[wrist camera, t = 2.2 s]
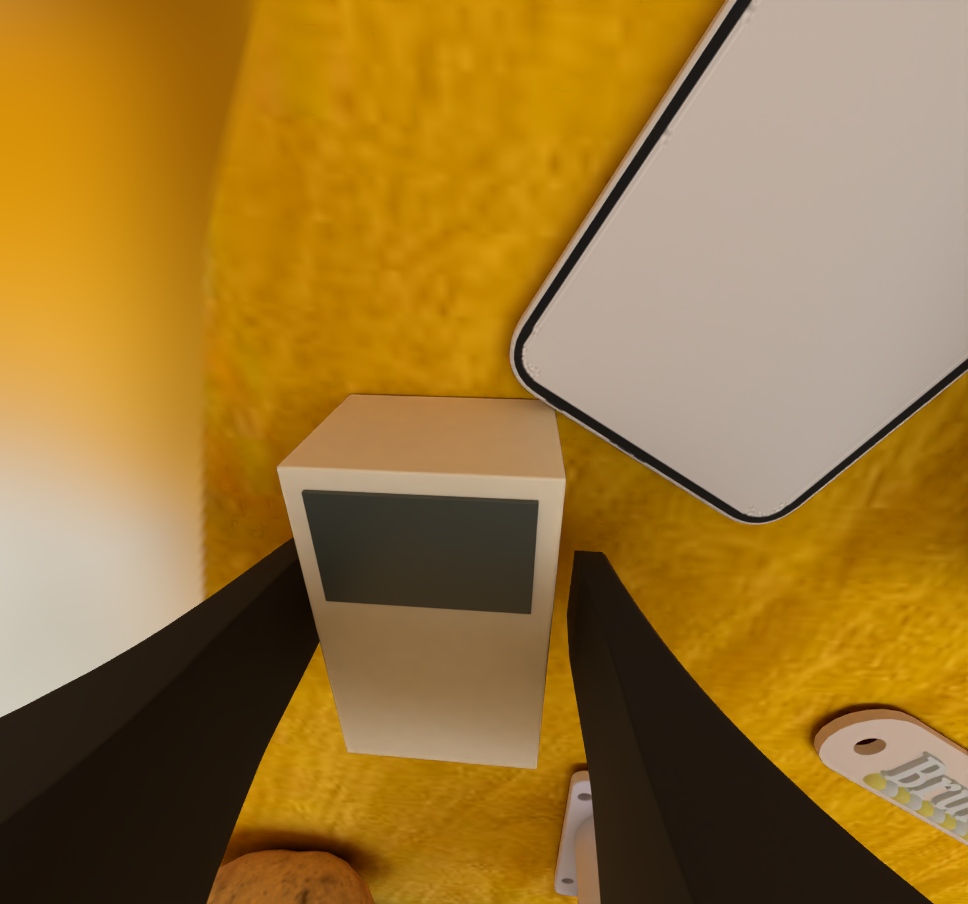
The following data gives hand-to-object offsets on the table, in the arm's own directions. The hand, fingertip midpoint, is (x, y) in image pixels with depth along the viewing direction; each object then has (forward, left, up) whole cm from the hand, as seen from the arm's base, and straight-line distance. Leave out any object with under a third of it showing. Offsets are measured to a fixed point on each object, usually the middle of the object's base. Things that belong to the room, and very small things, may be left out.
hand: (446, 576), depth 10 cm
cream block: (0, 0, -1) cm, 1 cm away
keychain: (-9, -16, -1) cm, 18 cm away
